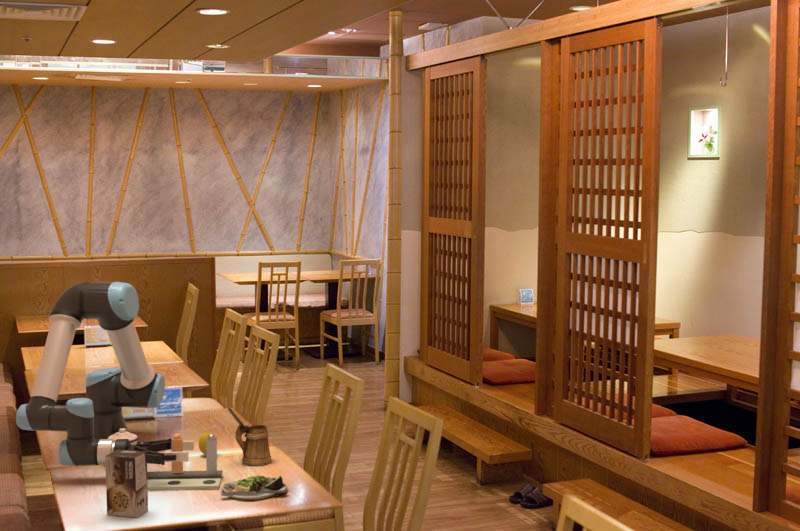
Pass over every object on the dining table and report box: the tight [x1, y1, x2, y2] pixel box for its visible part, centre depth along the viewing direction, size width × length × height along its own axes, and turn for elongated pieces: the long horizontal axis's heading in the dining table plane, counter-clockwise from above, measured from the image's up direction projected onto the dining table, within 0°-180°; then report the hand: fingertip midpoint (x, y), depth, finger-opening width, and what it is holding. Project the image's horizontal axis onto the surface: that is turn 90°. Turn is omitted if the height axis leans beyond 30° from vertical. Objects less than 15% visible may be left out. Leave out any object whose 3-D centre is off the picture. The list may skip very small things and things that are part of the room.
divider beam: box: [147, 433, 224, 481], centre depth 282 cm, size 3×27×14 cm, turn 95°
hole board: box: [147, 478, 222, 492], centre depth 276 cm, size 7×25×1 cm, turn 95°
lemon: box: [198, 431, 213, 456], centre depth 307 cm, size 6×6×8 cm
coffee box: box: [105, 450, 149, 518], centre depth 253 cm, size 9×6×16 cm
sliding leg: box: [171, 432, 184, 473], centre depth 282 cm, size 3×3×12 cm
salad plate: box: [220, 475, 288, 501], centre depth 271 cm, size 19×18×5 cm
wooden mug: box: [227, 407, 273, 467], centre depth 299 cm, size 9×14×18 cm, turn 106°
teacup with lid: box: [108, 428, 139, 445], centre depth 296 cm, size 12×9×12 cm
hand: (191, 450), depth 282 cm, fingers open, 11 cm apart
